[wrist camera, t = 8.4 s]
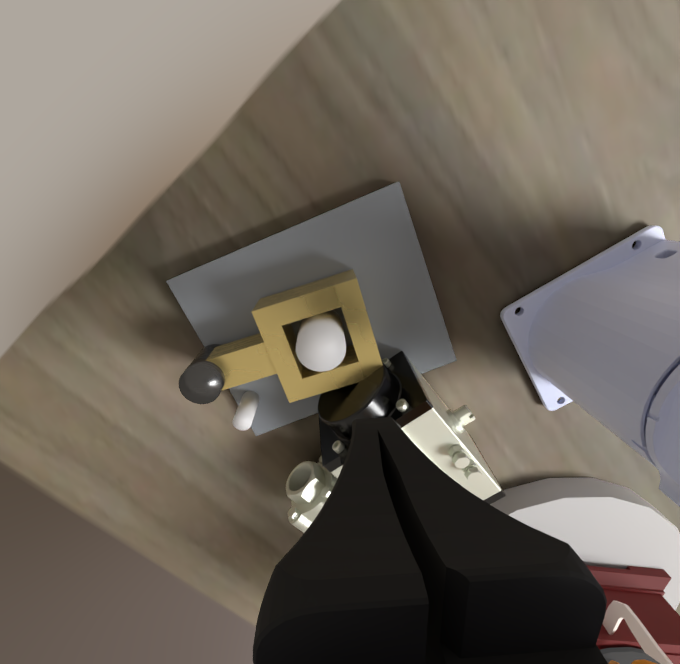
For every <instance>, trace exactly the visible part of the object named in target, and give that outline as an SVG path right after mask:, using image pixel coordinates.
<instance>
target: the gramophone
mask: <svg viewBox="0 0 680 664" xmlns="http://www.w3.org/2000/svg"><path fill="white" fill-rule="evenodd" d="M503 491H504V492H505V494H506V496H505V497H503V498H501V499H499V500H497V501H496V502H494V503H492V504H491V506H493V507H495V508H496V509H498V510H500V511H502V512H503V513H505V514H507V515H509V516H511V517H513V518H515V519H516V520H518V521H520V522H522V523H524V524H526V525H528V526H530V527H532V528H534V529H537V530H539V531H541V532H543V533H546V534H548V535H550V536H552V537H555V538H557V539H559V540H561V541H564V542H566V543H568V544H569V545H570V546H571V547H572V549H573V550H574V551H575V552H576V553H577V555H578V556H579V557H580V558H581V559H582V561H583V562H584V563H585V565H586V566H587V567H588V569H589V570H590V571H591V573H592V574H593V576H594V577H595V578H596V580H597V581H598V583H599V584H600V585H601V587H602V588H603V590H604V592H605V596H606V599H607V605H606V613H605V617H604V620H603V623H602V626H601V630H600V633H599V636H598V639H597V643H596V645H597V647H598V648H599V650H600V651H601V653H602V655H603V656H604V658H605V659H606V661H607V663H608V664H680V616H679V615H678V613H677V612H676V611H675V610H676V608H677V606H678V604H679V602H680V533H679V531H678V529H677V527H676V526H674V525H673V524H672V523H671V522H670V521H669V520H668V519H667V518H666V517H665V516H664V515H663V514H661V513H660V512H659V511H658V510H657V509H656V508H655V507H654V506H652V505H651V504H650V503H648V502H647V501H646V500H644V499H643V498H642V497H640V496H639V495H638V494H636V493H635V492H634V491H632V490H631V489H630V488H628V487H624V486H621V485H617V484H614V483H610V482H607V481H603V480H600V479H596V478H593V477H585V478H547V479H543V480H539V481H535V482H532V483H528V484H524V485H520V486H516V487H513V488H509V489H505V490H503Z"/></svg>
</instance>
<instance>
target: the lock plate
mask: <svg viewBox="0 0 680 664" xmlns="http://www.w3.org/2000/svg"><path fill="white" fill-rule="evenodd" d="M351 269H353V271H354V273H355V275H356V278H357V281H358V284H359V287H360V291H361V294H362V297H363V301H364V304H365V307H366V311H367V314H368V317H369V321H370V324H371V327H372V331H373V334H374V337H375V341H376V344H377V347H378V351H379V354H380V357H381V360H382V359H384V358H388V359H390V358H391V357H393V356H394V355H396V354H397V353H399V352H400V351H403V352H404V353H405V355H406V356H407V357H408V358H409V360H410V361H411V362H412V363H413V365H414V366H415V367H416V369H417V370H418V371H419V373H420V374H422V373H425V372H427V371H430V370H433V369H435V368H438V367H441V366H443V365H446V364H449V363H451V362H454V361H457V360H456V357H455V354H454V351H453V348H452V344H451V341H450V338H449V335H448V332H447V329H446V326H445V323H444V319H443V316H442V313H441V310H440V307H439V304H438V301H437V298H436V295H435V291H434V288H433V285H432V282H431V279H430V276H429V273H428V270H427V266H426V263H425V260H424V257H423V254H422V251H421V248H420V245H419V241H418V238H417V235H416V232H415V229H414V226H413V223H412V220H411V216H410V213H409V210H408V207H407V204H406V201H405V198H404V195H403V191H402V188H401V185H400V182H395V183H393V184H390V185H388V186H386V187H383V188H381V189H379V190H376V191H374V192H372V193H369V194H367V195H365V196H362V197H360V198H358V199H355V200H353V201H351V202H348V203H346V204H344V205H341V206H339V207H337V208H334V209H332V210H330V211H327V212H325V213H323V214H320V215H318V216H316V217H313V218H311V219H309V220H306V221H304V222H302V223H299V224H297V225H295V226H292V227H290V228H288V229H285V230H283V231H281V232H278V233H276V234H274V235H271V236H269V237H267V238H264V239H262V240H260V241H257V242H255V243H253V244H250V245H248V246H246V247H243V248H241V249H239V250H236V251H234V252H232V253H229V254H227V255H225V256H222V257H220V258H218V259H215V260H213V261H211V262H208V263H206V264H204V265H201V266H199V267H197V268H194V269H192V270H190V271H187V272H185V273H183V274H180V275H178V276H176V277H173V278H171V279H169V280H167V281H166V282H167V284H168V285H169V287H170V289H171V290H172V292H173V294H174V296H175V297H176V299H177V301H178V302H179V304H180V306H181V308H182V309H183V311H184V313H185V314H186V316H187V318H188V320H189V321H190V323H191V325H192V327H193V328H194V330H195V332H196V333H197V335H198V337H199V339H200V340H201V342H202V344H203V345H204V347H206V346H208V345H212V344H218V345H224V344H227V343H230V342H233V341H236V340H240V339H243V338H246V337H249V336H252V335H255V334H259V333H260V331H259V329H258V326H257V324H256V322H255V319H254V317H253V314H252V310H253V308H254V307H255V305H256V304H257V302H258V301H259V299H261V298H264V297H267V296H270V295H273V294H276V293H280V292H283V291H286V290H289V289H292V288H295V287H298V286H301V285H305V284H308V283H311V282H314V281H317V280H320V279H323V278H326V277H330V276H333V275H336V274H339V273H342V272H345V271H348V270H351ZM291 325H292V328H293V330H294V333H295V336H296V338H297V342H296V354H297V357H298V359H299V361H300V362H301V363H302V364H303V365H304V366H305V367H307V368H308V369H311V370H313V371H318V372H323V371H329V370H331V369H334V368H335V367H337V366H338V365H339V364H340V363H341V362H342V360H343V359H344V357H345V354H346V347H347V346H351V345H353V342H352V339H351V336H350V333H349V330H348V327H347V324H346V320H345V317H344V314H343V311H342V308H341V307H340V308H337V309H333V310H330V311H327V312H324V313H321V314H317V315H314V316H311V317H308V318H305V319H302V320H298V321H295V322H292V323H291ZM229 390H230V392H231V394H232V395H233V397H234V399H235V400H236V402H237V404H238V409H237V411H236V413H235V416H234V418H233V425H234V427H235V428H237V429H239V430H247V429H249V428H250V427H251V428H252V430H253V431H254V433H255V435H256V436H258V435H260V434H263V433H265V432H268V431H271V430H273V429H276V428H279V427H281V426H284V425H287V424H289V423H292V422H295V421H297V420H300V419H303V418H305V417H308V416H311V415H313V414H316V413H318V401H319V398H320V395H321V394H318V395H314V396H311V397H308V398H304V399H301V400H298V401H294V402H291V403H289V401H288V399H287V396H286V394H285V391H284V389H283V387H282V384H281V382H280V379H279V377H278V375H277V374H274V375H271V376H268V377H264V378H261V379H258V380H255V381H251V382H248V383H245V384H242V385H238V386H235V387H232V388H229Z"/></svg>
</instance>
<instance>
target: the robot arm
mask: <svg viewBox="0 0 680 664" xmlns="http://www.w3.org/2000/svg"><path fill="white" fill-rule="evenodd" d="M635 241H636V245H635V247H633V248H632V244H633V242H635ZM518 307H520V312H519V313H517V314H515V310H516V309H517V308H518ZM500 317H501V320H502V322H503V324H504V326H505V328H506V330H507V332H508V334H509V336H510V338H511V340H512V342H513V344H514V346H515V348H516V350H517V353H518V355H519V357H520V359H521V361H522V363H523V365H524V367H525V369H526V371H527V373H528V375H529V377H530V379H531V381H532V383H533V385H534V387H535V389H536V391H537V393H538V395H539V397H540V399H541V401H542V403H543V405H544V407H545V408H546V409H548V410H550V411H554V410H556V409H558V408H560V407H562V406H564V405H566V404H568V403H570V402H572V401H574V402H575V403H576V404H578V405H579V406H580V407H581V408H583V409H584V410H585V411H586V412H588V413H589V414H590V415H591V416H593V417H594V418H595V419H596V420H598V421H599V422H600V423H601V424H603V425H604V426H605V427H606V428H608V429H609V430H610V431H611V432H613V433H614V434H615V435H616V436H618V437H619V438H620V439H621V440H623V441H624V442H625V443H626V444H628V445H629V446H630V447H631V448H633V449H634V450H635V451H636V452H638V453H639V454H640V455H641V456H643V457H644V458H645V459H646V460H648V461H649V462H650V463H651V464H653V465H654V466H655V467H656V468H657V469H658V470H659V472H660V479H661V480H660V485H659V489H660V490H661V491H662V492H663V493H664V494H665V495H667V496H668V497H669V498H670V499H671V500H672V501H674V502H675V503H676V504H677V505H678V506H679V507H680V241H672V240H665V236H664V233H663V230H662V228H661V227H660V226H656V225H650V226H647V227H645V228H643V229H642V230H640V231H638V232H636V233H635V234H633V235H631V236H629V237H628V238H626V239H624V240H622V241H621V242H619V243H617V244H615V245H614V246H612V247H610V248H608V249H606V250H605V251H603V252H601V253H599V254H598V255H596V256H594V257H592V258H591V259H589V260H587V261H585V262H584V263H582V264H580V265H578V266H577V267H575V268H573V269H571V270H570V271H568V272H566V273H564V274H563V275H561V276H559V277H557V278H556V279H554V280H552V281H550V282H549V283H547V284H545V285H543V286H542V287H540V288H538V289H536V290H535V291H533V292H531V293H529V294H528V295H526V296H524V297H522V298H521V299H519V300H517V301H515V302H514V303H512V304H510V305H508V306H507V307H505V308H504V309H503V310H502V311H501V314H500ZM560 397H561V399H560V400H559V401H557V400H558V398H560ZM606 605H607V599H606V596H605V592H604V590H603V588H602V587H601V585H600V584H599V583H598V581H597V580H596V578H595V577H594V576H593V574H592V573H591V571H590V570H589V569H588V567H587V566H586V565H585V563H584V562H583V561H582V559H581V558H580V557H579V556H578V555H577V553H576V552H575V551H574V550H573V549H572V547H571V546H570V545H569V544H568V543H566V542H564V541H561V540H559V539H557V538H555V537H552V536H550V535H548V534H546V533H543V532H541V531H539V530H537V529H534V528H532V527H530V526H528V525H526V524H524V523H522V522H520V521H518V520H516V519H515V518H513V517H511V516H509V515H507V514H505V513H503V512H502V511H500V510H498V509H496V508H495V507H493V506H491V505H490V504H488V503H487V502H485V501H483V500H482V499H480V498H479V497H477V496H475V495H474V494H472V493H471V492H470V491H468V490H467V489H465V488H464V487H463V486H461V485H460V484H459V483H457V482H456V481H455V480H453V479H452V478H451V477H449V476H448V475H447V474H446V473H444V472H443V471H442V470H441V469H440V468H439V467H438V466H437V465H435V464H434V463H433V462H432V461H431V460H430V459H429V458H428V457H427V456H426V455H425V454H424V453H423V452H422V451H421V450H420V449H419V448H418V447H417V446H416V445H415V444H414V443H413V442H412V441H411V439H410V438H409V437H408V436H407V435H406V434H405V433H404V432H403V430H402V429H401V428H400V427H399V426H398V424H397V423H396V422H395V421H394V420H393V419H392V418H391V417H385V418H367V419H355V420H354V421H353V422H352V437H351V442H350V446H349V449H348V453H347V456H346V459H345V462H344V464H343V467H342V469H341V472H340V474H339V477H338V479H337V481H336V483H335V485H334V487H333V489H332V491H331V493H330V495H329V497H328V499H327V500H326V502H325V504H324V505H323V507H322V509H321V510H320V512H319V513H318V515H317V516H316V518H315V519H314V521H313V522H312V523H311V525H310V526H309V527H308V529H307V530H306V531H305V533H304V534H303V535H302V537H301V538H300V539H299V541H298V542H297V543H296V544H295V545H294V546H293V548H292V549H291V550H290V551H289V552H288V553H287V554H286V555H285V556H284V557H283V559H282V560H281V561H280V562H279V563H278V564H277V565H276V566H275V569H274V571H273V574H272V576H271V579H270V581H269V584H268V586H267V589H266V592H265V595H264V598H263V601H262V604H261V608H260V612H259V616H258V620H257V625H256V632H255V639H254V645H253V663H254V664H608V663H607V661H606V659H605V658H604V656H603V655H602V653H601V651H600V650H599V648H598V647H597V645H596V643H597V639H598V636H599V633H600V630H601V626H602V623H603V620H604V617H605V613H606Z"/></svg>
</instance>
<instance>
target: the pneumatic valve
mask: <svg viewBox="0 0 680 664" xmlns="http://www.w3.org/2000/svg"><path fill="white" fill-rule="evenodd" d="M381 361H382V364H383V366H382V367H380V368H379V369H377V370H376V371H374V372H373V373H372V374H370V375H369V376H367V377H366V378H365V379H363V380H362V381H360V382H358V383H355V384H351V385H348V386H345V387H341V388H338V389H335V390H331V391H328V392H324V393H321V395H320V398H319V401H318V414H319V425H320V439H321V453H322V455H321V456H320V458H319V463H315V462H312V461H304V462H302V463H300V464H299V465H297V466H296V467H295V468H294V469H293V470H292V472H291V473H290V475H289V477H288V479H287V482H286V493H287V497H289V498H290V499H291V506H292V507H291V508H290V510H289V511H288V517H289V518H288V520H289V522H290V523H291V524H292V525H294V526H295V527H296V528H298V529H299V530H301V531H302V532H303V533H305V531H306V530H307V529H308V527H309V526H310V525H311V523H312V522H313V521H314V519H315V518H316V516H317V515H318V513H319V512H320V510H321V509H322V507H323V505H324V504H325V502H326V500H327V499H328V497H329V495H330V493H331V491H332V489H333V487H334V485H335V483H336V481H337V479H338V477H339V474H340V472H341V469H342V467H343V464H344V462H345V459H346V456H347V453H348V449H349V446H350V442H351V437H352V422H353V421H354V420H355V419H367V418H385V417H391V418H392V419H393V420H394V421H395V422H396V423H397V424H398V426H399V427H400V428H401V429H402V430H403V432H404V433H405V434H406V435H407V436H408V437H409V438H410V439H411V441H412V442H413V443H414V444H415V445H416V446H417V447H418V448H419V449H420V450H421V451H422V452H423V453H424V454H425V455H426V456H427V457H428V458H429V459H430V460H431V461H432V462H433V463H434V464H435V465H437V466H438V467H439V468H440V469H441V470H442V471H443V472H444V473H446V474H447V475H448V476H449V477H451V478H452V479H453V480H455V481H456V482H457V483H459V484H460V485H461V486H463V487H464V488H465V489H467V490H468V491H470V492H471V493H472V494H474V495H475V496H477V497H479V498H480V499H482V500H483V501H485V502H487V503H488V504H490V505H491V504H492V503H494V502H496V501H497V500H499V499H501V498H503V497H505V496H506V494H505V492H504V491H503V489H502V487H501V486H500V484H499V482H498V481H497V479H496V477H495V476H494V474H493V472H492V471H491V469H490V467H489V466H488V464H487V462H486V461H485V459H484V457H483V456H482V454H481V452H480V451H479V449H478V447H477V446H476V444H475V442H474V441H473V439H472V437H471V436H470V435H469V434H468V432H467V431H466V430H465V429H464V427H463V426H465V425H467V424H468V423H470V422H471V421H473V420H475V417H474V415H473V414H472V412H471V411H470V410H469V409H468V407H467V406H466V405H463V406H462V407H460V408H458V409H457V410H455V411H454V412H453V411H452V410H451V409H448V407H447V406H446V405H445V404H444V402H443V401H442V400H441V399H440V397H439V396H438V395H437V394H436V392H435V391H434V390H433V389H432V387H431V386H430V385H429V384H428V382H427V381H426V380H425V378H424V377H423V376H422V375H421V374H420V373H419V371H418V370H417V369H416V367H415V366H414V365H413V363H412V362H411V361H410V360H409V358H408V357H407V356H406V355H405V353H404V352H403V351H400V352H399V353H397V354H396V355H394V356H393V357H391V358H390V359H388V358H384V359H382V360H381Z"/></svg>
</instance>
